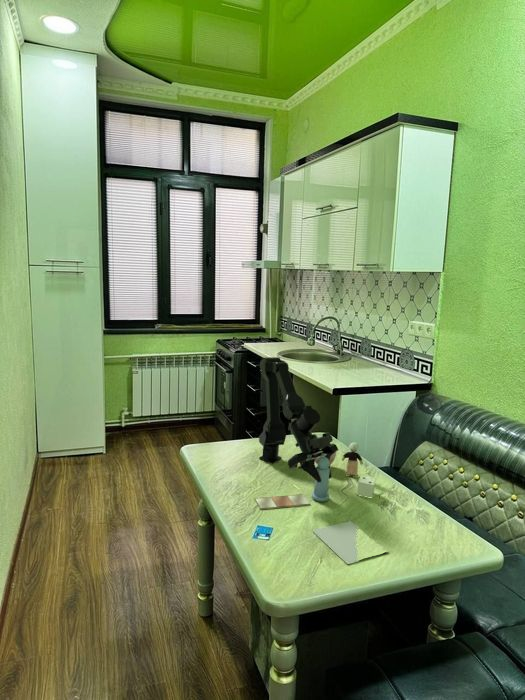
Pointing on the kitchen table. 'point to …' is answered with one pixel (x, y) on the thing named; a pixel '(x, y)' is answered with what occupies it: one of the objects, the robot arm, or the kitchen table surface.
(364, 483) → the die
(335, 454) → the decorative fruit
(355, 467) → the grandmother figurine
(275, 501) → the board
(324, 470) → the pawn
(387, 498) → the kitchen table surface
